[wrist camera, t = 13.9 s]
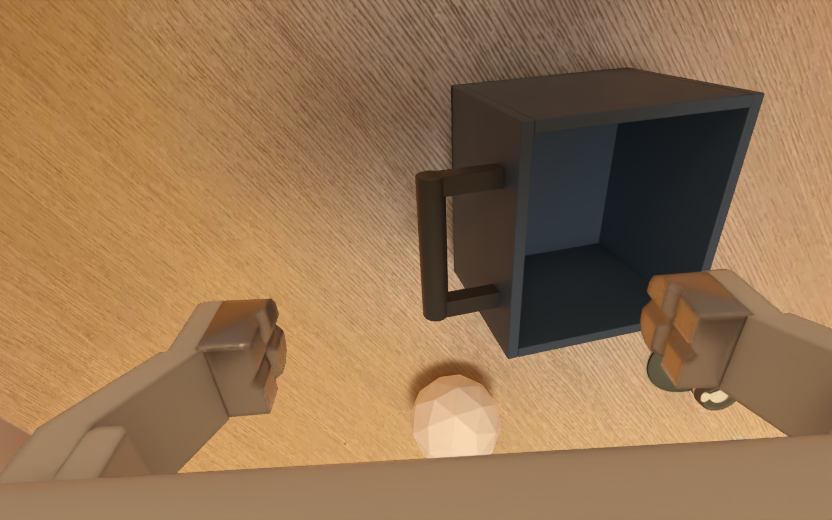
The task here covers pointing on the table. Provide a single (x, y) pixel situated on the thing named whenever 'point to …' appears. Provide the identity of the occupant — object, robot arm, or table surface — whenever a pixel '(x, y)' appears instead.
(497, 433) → the geometric ball
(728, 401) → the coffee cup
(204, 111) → the table surface
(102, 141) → the table surface
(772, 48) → the table surface
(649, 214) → the handled storage box
